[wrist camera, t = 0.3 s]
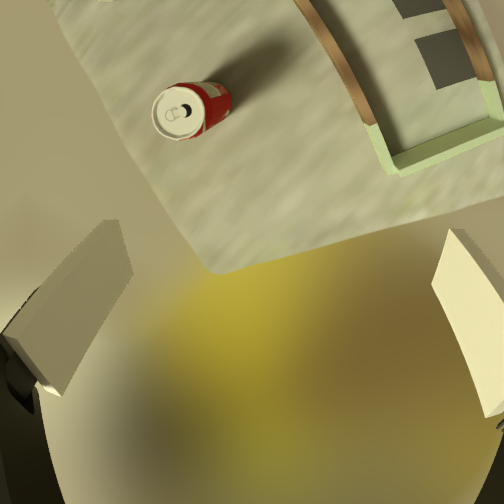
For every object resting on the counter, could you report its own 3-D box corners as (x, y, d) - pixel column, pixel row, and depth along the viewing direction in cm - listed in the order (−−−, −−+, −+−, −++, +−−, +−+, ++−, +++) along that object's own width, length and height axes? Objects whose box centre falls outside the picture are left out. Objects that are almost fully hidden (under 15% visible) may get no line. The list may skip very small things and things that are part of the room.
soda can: (196, 129, 35) (158, 152, 25) (182, 90, 32) (139, 97, 22) (237, 116, 34) (215, 133, 24) (225, 75, 31) (196, 74, 21)
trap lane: (249, -54, 21) (243, -71, 16) (382, -88, 14) (392, -104, 9) (382, 168, 35) (394, 181, 30) (494, 121, 28) (515, 129, 23)
